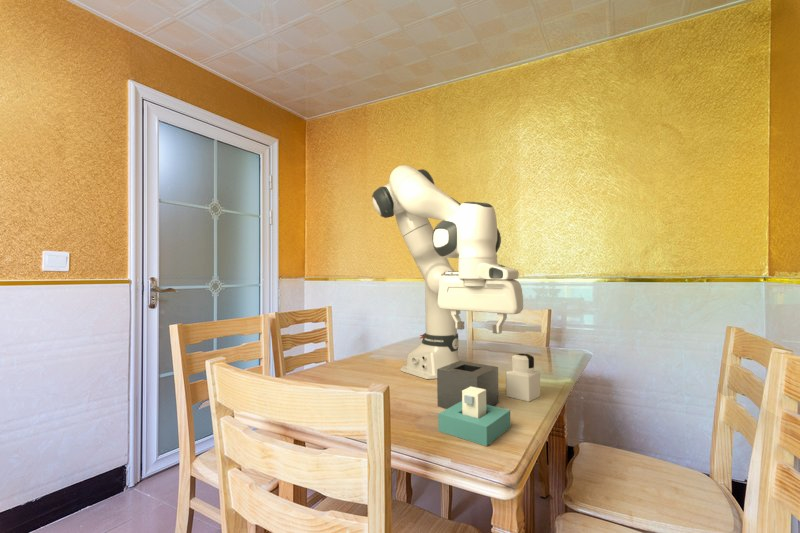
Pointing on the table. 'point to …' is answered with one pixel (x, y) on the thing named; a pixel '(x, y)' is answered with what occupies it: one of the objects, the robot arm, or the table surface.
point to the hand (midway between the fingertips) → (478, 331)
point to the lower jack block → (474, 424)
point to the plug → (474, 402)
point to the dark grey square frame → (466, 382)
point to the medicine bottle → (523, 378)
